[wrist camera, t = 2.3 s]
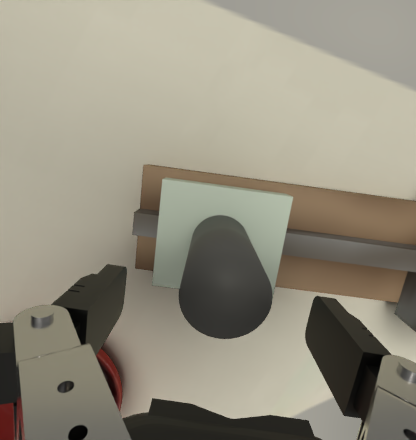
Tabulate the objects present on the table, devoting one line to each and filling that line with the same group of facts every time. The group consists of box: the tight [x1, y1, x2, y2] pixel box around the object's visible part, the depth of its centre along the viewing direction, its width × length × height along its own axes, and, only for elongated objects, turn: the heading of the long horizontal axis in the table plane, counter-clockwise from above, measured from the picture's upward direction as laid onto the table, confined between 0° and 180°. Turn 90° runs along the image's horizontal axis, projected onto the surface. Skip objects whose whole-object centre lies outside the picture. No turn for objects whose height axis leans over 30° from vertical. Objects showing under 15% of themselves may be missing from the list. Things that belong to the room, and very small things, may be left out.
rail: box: [132, 165, 416, 332], centre depth 17 cm, size 11×28×12 cm, turn 82°
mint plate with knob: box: [152, 177, 293, 339], centre depth 15 cm, size 7×8×10 cm
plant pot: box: [0, 349, 122, 440], centre depth 20 cm, size 13×13×12 cm
